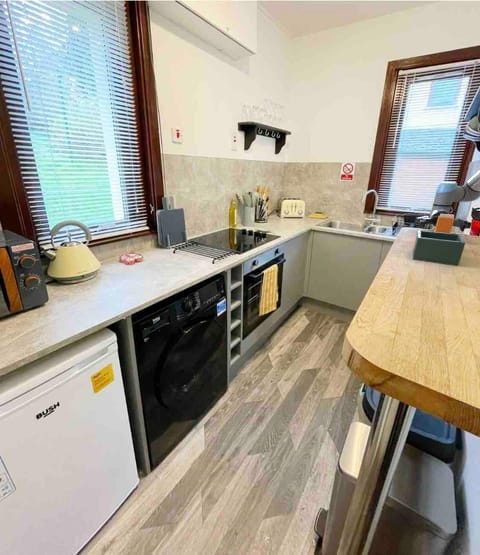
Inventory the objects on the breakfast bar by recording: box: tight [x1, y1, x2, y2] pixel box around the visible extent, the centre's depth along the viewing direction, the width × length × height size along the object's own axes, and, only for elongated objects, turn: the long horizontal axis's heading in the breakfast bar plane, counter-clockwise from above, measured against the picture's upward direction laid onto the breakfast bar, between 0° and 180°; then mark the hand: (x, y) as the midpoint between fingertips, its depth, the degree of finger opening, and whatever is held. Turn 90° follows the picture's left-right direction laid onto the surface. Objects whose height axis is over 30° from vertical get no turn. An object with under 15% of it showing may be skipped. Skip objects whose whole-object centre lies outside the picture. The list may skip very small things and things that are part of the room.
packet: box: [434, 213, 455, 233], centre depth 112 cm, size 5×4×11 cm
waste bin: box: [412, 229, 466, 267], centre depth 94 cm, size 13×13×8 cm
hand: (443, 226), depth 113 cm, fingers open, 13 cm apart
